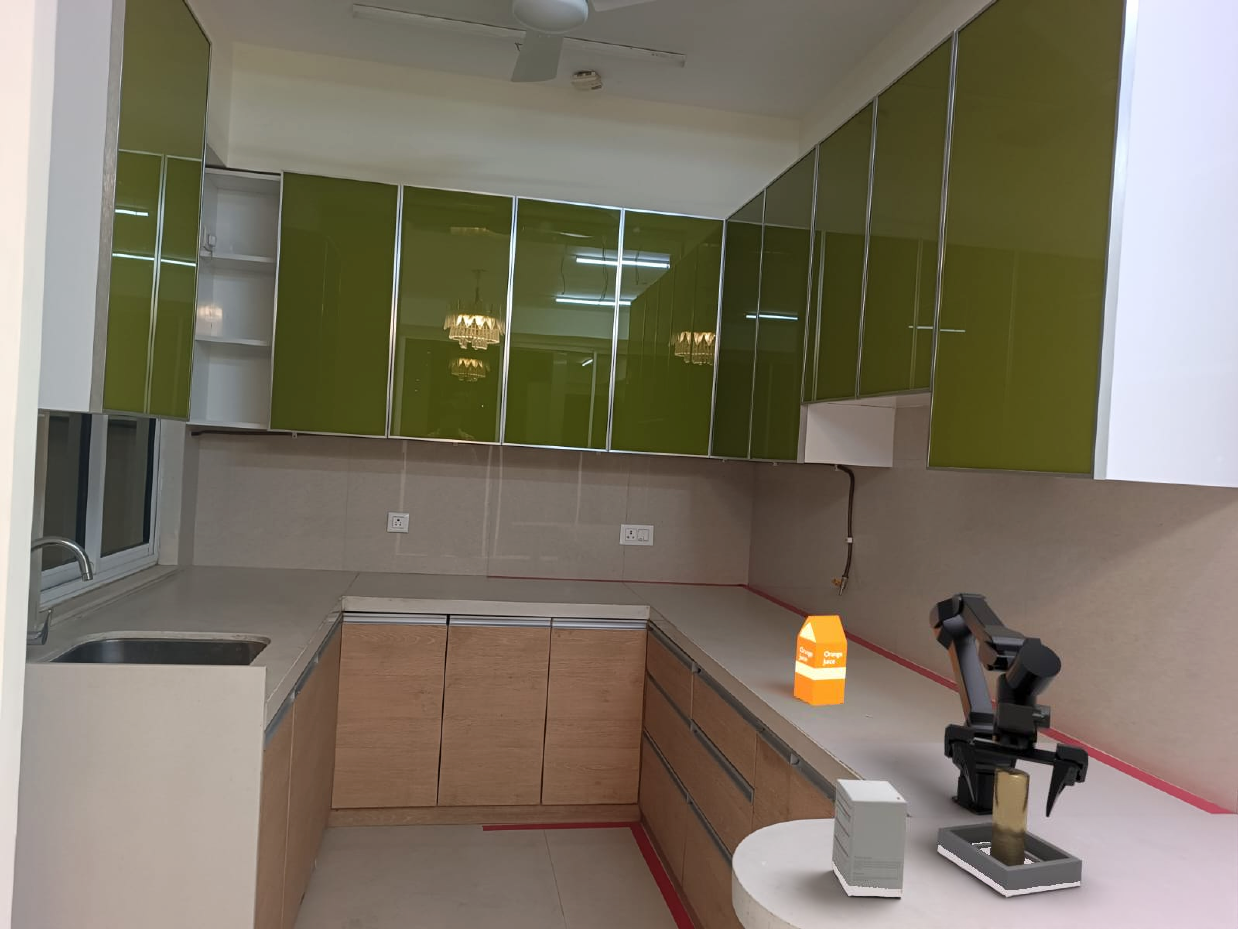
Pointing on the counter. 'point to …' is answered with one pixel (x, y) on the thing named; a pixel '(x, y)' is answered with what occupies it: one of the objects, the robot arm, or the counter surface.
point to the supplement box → (869, 834)
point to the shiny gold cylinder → (1009, 816)
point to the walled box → (1044, 871)
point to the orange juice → (821, 661)
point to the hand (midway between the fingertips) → (1010, 808)
